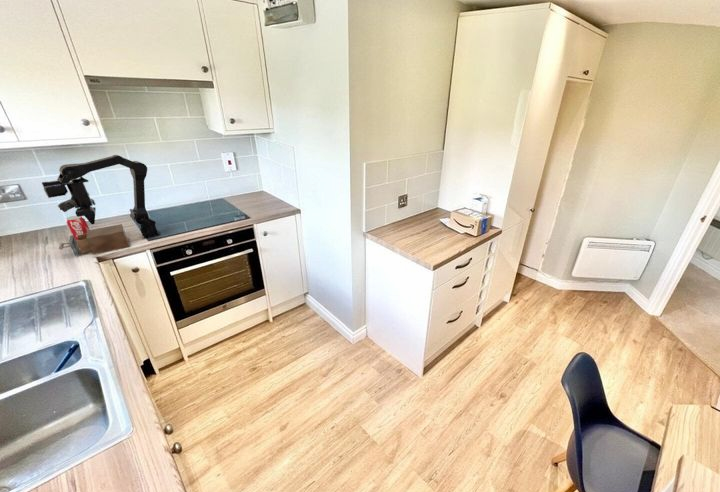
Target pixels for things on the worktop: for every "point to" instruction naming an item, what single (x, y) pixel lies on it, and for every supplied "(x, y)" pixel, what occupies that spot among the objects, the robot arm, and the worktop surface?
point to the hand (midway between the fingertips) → (93, 224)
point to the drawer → (77, 244)
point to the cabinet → (107, 239)
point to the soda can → (77, 226)
